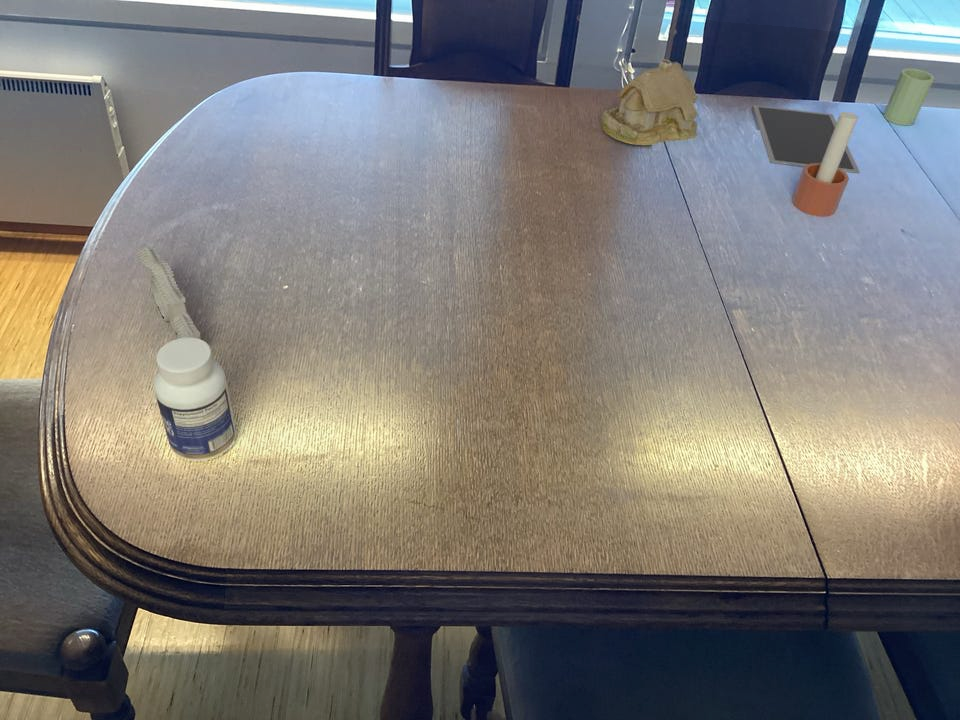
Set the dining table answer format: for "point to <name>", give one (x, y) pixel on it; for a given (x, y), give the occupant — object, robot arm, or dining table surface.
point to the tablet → (798, 136)
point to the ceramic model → (654, 107)
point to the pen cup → (908, 96)
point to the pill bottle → (193, 400)
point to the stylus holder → (819, 192)
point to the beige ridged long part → (168, 293)
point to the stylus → (836, 147)
